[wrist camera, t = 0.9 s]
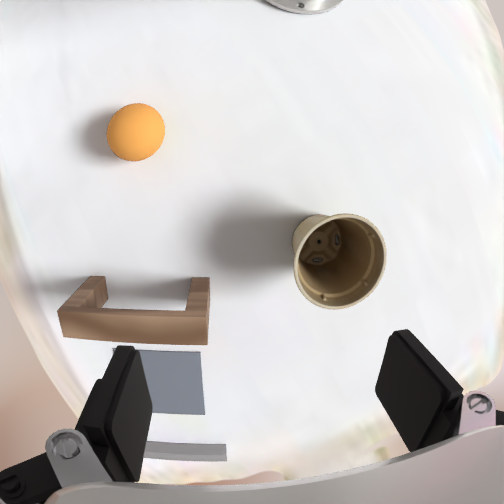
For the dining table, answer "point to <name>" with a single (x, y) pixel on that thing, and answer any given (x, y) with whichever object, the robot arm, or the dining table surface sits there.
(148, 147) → the ball
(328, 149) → the dining table surface
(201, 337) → the bridge
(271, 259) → the dining table surface
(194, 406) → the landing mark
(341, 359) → the dining table surface
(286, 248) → the dining table surface
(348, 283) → the flower pot
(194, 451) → the stopper
